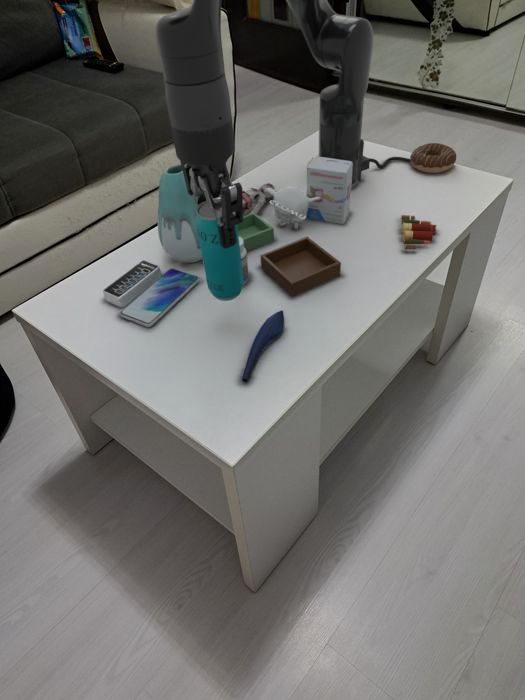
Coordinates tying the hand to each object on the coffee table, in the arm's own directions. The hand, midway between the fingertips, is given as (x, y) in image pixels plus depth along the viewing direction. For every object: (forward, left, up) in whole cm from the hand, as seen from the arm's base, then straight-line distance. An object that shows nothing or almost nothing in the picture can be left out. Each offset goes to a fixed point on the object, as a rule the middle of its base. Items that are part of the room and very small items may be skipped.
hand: (218, 235), depth 72 cm
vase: (-4, -23, -18) cm, 30 cm away
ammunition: (-41, -3, -16) cm, 44 cm away
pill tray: (-16, -21, -18) cm, 32 cm away
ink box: (-34, -18, -18) cm, 42 cm away
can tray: (-18, -5, -18) cm, 26 cm away
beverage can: (0, 0, -11) cm, 11 cm away
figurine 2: (-26, -20, -18) cm, 37 cm away
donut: (-68, -22, -18) cm, 73 cm away
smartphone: (+7, -13, -18) cm, 23 cm away
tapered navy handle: (-2, +8, -18) cm, 19 cm away
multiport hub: (+10, -19, -18) cm, 28 cm away
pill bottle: (-7, -10, -18) cm, 22 cm away
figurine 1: (-20, -29, -17) cm, 40 cm away
